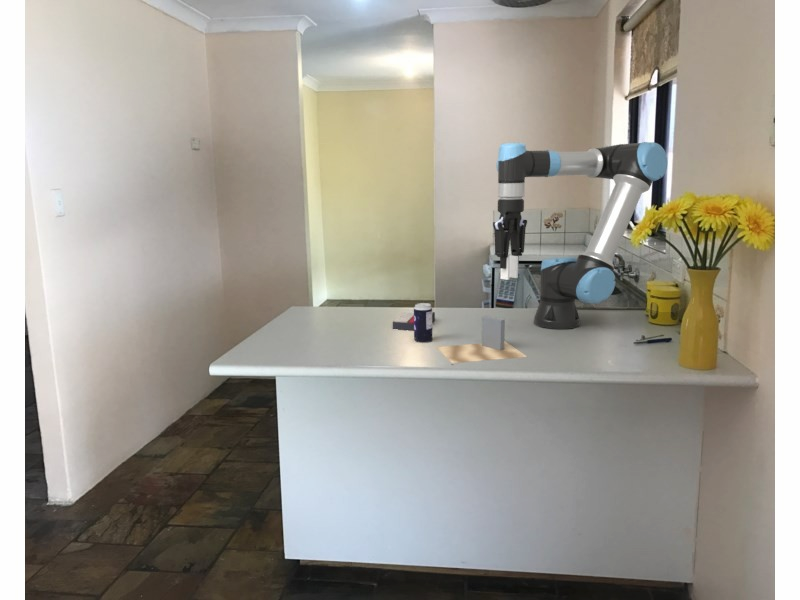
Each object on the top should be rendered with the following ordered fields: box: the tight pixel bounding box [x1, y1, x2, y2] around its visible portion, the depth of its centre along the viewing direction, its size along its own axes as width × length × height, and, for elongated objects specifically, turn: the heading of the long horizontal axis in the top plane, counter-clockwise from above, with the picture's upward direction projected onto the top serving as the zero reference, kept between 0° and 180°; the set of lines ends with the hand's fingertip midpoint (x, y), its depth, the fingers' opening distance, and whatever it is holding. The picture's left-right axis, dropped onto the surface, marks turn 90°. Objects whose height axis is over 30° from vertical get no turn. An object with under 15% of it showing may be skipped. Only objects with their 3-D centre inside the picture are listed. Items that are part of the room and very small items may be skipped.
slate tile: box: [481, 315, 506, 351], centre depth 173 cm, size 2×7×9 cm, turn 42°
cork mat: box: [436, 341, 528, 366], centre depth 170 cm, size 22×16×1 cm
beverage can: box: [413, 302, 433, 344], centre depth 182 cm, size 6×6×12 cm
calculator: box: [392, 309, 436, 332], centre depth 204 cm, size 11×4×15 cm
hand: (509, 278), depth 174 cm, fingers open, 3 cm apart
